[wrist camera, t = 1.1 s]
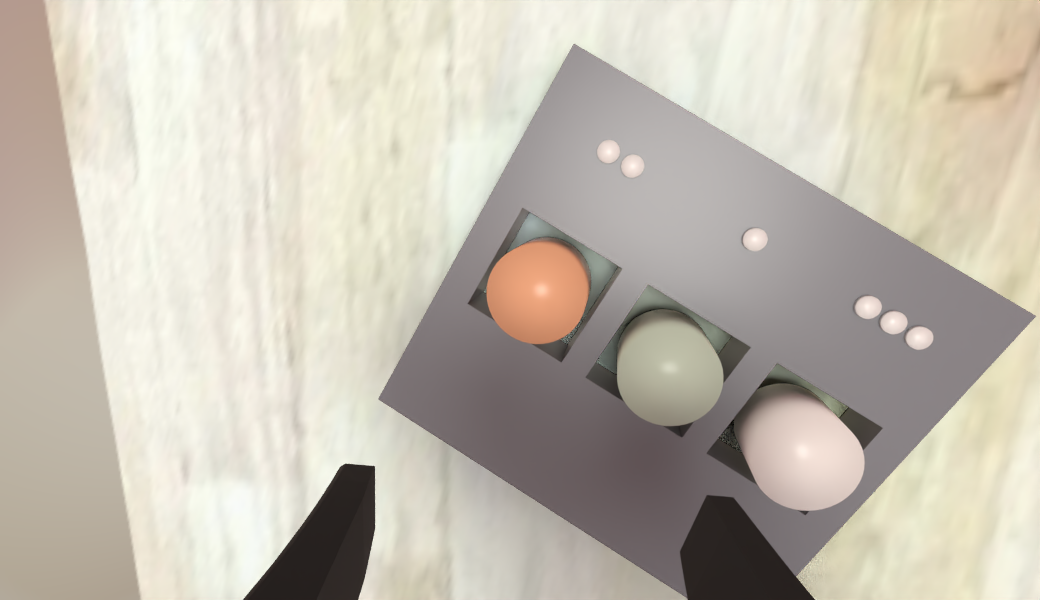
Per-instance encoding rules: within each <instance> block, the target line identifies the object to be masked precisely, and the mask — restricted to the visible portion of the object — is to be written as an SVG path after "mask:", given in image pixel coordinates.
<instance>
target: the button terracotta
mask: <svg viewBox="0 0 1040 600" xmlns="http://www.w3.org/2000/svg"><path fill="white" fill-rule="evenodd" d="M590 289H591V274H590V270H589V266H588V264H587V262H586V260H585V258H584V257H583V255H582V254H581V253H580V252H579V251H578V250H577V249H576V248H575V247H574V246H572V245H571V244H569V243H568V242H566V241H563V240H561V239H557V238H551V237H542V238H536V239H533V240H530V241H528V242H526V243H524V244H522V245H521V246H519V247H517V248H515V249H513V250H512V251H510V252H508V253H507V254H505V255H504V256H503V257H502V258H501V259H500V260H499V261H498V262H497V263H496V265H495V266H494V268H493V270H492V272H491V274H490V276H489V279H488V283H487V293H486V294H487V302H488V307H489V310H490V312H491V315H492V317H493V318H494V320H495V322H496V323H497V324H498V325H499V327H500V328H501V329H502V330H503V331H504V332H506V333H507V334H508V335H510V336H511V337H513V338H515V339H517V340H519V341H522V342H526V343H531V344H545V343H550V342H554V341H557V340H559V339H561V338H563V337H564V336H566V335H567V334H569V333H570V332H571V331H572V330H573V329H574V328H575V327H576V325H577V324H578V323H579V321H580V319H581V318H582V316H583V313H584V310H585V307H586V304H587V300H588V297H589V294H590Z"/></svg>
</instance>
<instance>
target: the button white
mask: <svg viewBox="0 0 1040 600" xmlns="http://www.w3.org/2000/svg"><path fill="white" fill-rule="evenodd" d="M734 433H735V437H736V440H737V442H738V444H739V446H740V448H741V451H742V453H743V455H744V457H745V459H746V461H747V464H748V466H749V468H750V470H751V472H752V474H753V476H754V479H755V481H756V483H757V484H758V486H759V488H760V489H761V490H762V491H763V493H764V494H766V495H767V496H768V497H769V498H770V499H772V500H773V501H774V502H776V503H778V504H780V505H782V506H785V507H787V508H791V509H795V510H802V511H813V510H821V509H825V508H828V507H831V506H833V505H836V504H838V503H839V502H841V501H843V500H844V499H846V498H847V497H848V496H849V495H850V494H851V493H852V492H853V491H854V490H855V489H856V487H857V486H858V484H859V482H860V481H861V478H862V476H863V472H864V465H865V460H864V453H863V449H862V447H861V445H860V443H859V441H858V439H857V438H856V436H855V435H854V434H853V433H852V432H851V431H850V430H849V429H848V428H847V426H846V425H845V424H844V423H843V422H842V421H841V420H840V419H839V418H838V417H837V416H836V415H835V414H834V413H833V412H832V411H831V410H830V409H829V408H828V407H827V406H826V404H825V403H824V402H823V401H822V400H821V399H820V398H819V397H818V396H817V395H815V394H814V393H813V392H811V391H809V390H808V389H806V388H803V387H801V386H797V385H793V384H772V385H768V386H765V387H762V388H760V389H758V390H756V391H755V392H754V393H753V395H752V396H751V397H750V398H749V400H748V401H747V402H746V403H745V405H744V406H743V407H742V409H741V410H740V411H739V412H738V414H737V415H736V416H735V419H734Z"/></svg>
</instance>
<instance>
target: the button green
mask: <svg viewBox="0 0 1040 600" xmlns="http://www.w3.org/2000/svg"><path fill="white" fill-rule="evenodd" d="M617 383H618V388H619V391H620V394H621V396H622V398H623V400H624V402H625V403H626V405H627V406H628V407H629V408H630V409H631V410H632V411H633V412H634V413H635V414H636V415H638V416H639V417H640V418H642V419H644V420H646V421H648V422H651V423H653V424H657V425H662V426H680V425H684V424H688V423H691V422H693V421H695V420H698V419H699V418H701V417H702V416H704V415H705V414H706V413H707V412H709V411H710V410H711V408H712V407H713V406H714V405H715V403H716V402H717V400H718V398H719V396H720V394H721V391H722V387H723V368H722V365H721V362H720V359H719V357H718V355H717V354H716V352H715V350H714V348H713V347H712V345H711V343H710V342H709V340H708V338H707V336H706V335H705V333H704V331H703V330H702V328H701V327H700V326H699V325H698V324H697V323H696V322H695V321H694V320H693V319H692V318H690V317H689V316H687V315H685V314H683V313H680V312H678V311H673V310H666V309H661V310H653V311H649V312H646V313H644V314H642V315H640V316H638V317H636V318H635V319H634V320H632V321H631V322H630V323H629V324H628V325H627V327H626V328H625V329H624V331H623V333H622V335H621V337H620V339H619V343H618V350H617Z"/></svg>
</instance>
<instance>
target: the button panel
mask: <svg viewBox="0 0 1040 600" xmlns="http://www.w3.org/2000/svg"><path fill="white" fill-rule="evenodd" d="M529 212H531V213H532V214H534V215H535V216H537V217H539V218H540V219H542V220H544V221H545V222H547V223H549V224H550V225H552V226H553V227H555V228H557V229H558V230H560V231H562V232H563V233H565V234H567V235H568V236H570V237H571V238H573V239H575V240H576V241H578V242H580V243H581V244H583V245H585V246H586V247H588V248H589V249H591V250H593V251H594V252H596V253H598V254H599V255H601V256H603V257H604V258H606V259H607V260H609V261H611V262H612V263H614V264H616V265H617V266H618V268H617V269H616V271H615V273H614V274H613V276H612V277H611V279H610V280H609V282H608V283H607V285H606V286H605V288H604V290H603V291H602V293H601V294H600V296H599V297H598V299H597V300H596V302H595V303H594V305H593V306H592V308H591V310H590V311H589V313H588V314H587V316H586V317H585V319H584V320H583V322H582V323H581V325H580V326H579V328H578V330H577V331H576V333H575V334H574V336H573V337H572V339H571V340H570V342H569V343H568V345H567V344H565V343H564V342H562V341H561V340H557V341H554V342H550V343H545V344H531V343H526V342H522V341H519V340H517V339H515V338H513V337H511V336H510V335H508V334H507V333H506V332H504V331H503V330H502V329H501V328H500V327H499V325H498V324H497V323H496V322H495V320H494V318H493V317H492V315H491V312H490V310H489V307H488V302H487V294H485V293H484V290H485V288H486V286H487V283H488V279H489V276H490V274H491V272H492V270H493V268H494V266H495V265H496V263H497V262H498V261H499V260H500V259H501V258H502V257H503V256H504V255H505V253H506V252H507V250H508V248H509V247H510V245H511V243H512V241H513V240H514V238H515V236H516V234H517V233H518V231H519V229H520V227H521V226H522V224H523V222H524V221H525V219H526V217H527V215H528V214H529ZM647 285H650V286H652V287H653V288H655V289H656V290H658V291H660V292H661V293H663V294H665V295H666V296H668V297H670V298H671V299H673V300H674V301H676V302H678V303H679V304H681V305H683V306H684V307H686V308H688V309H689V310H691V311H692V312H694V313H696V314H697V315H699V316H701V317H702V318H704V319H706V320H707V321H709V322H710V323H712V324H714V325H715V326H717V327H719V328H720V329H722V330H724V331H725V332H727V333H728V334H730V335H732V337H731V338H730V340H729V341H728V342H727V344H726V345H725V346H724V348H723V349H722V350H721V352H720V353H719V355H718V357H719V359H720V362H721V365H722V368H723V387H722V391H721V394H720V396H719V398H718V400H717V402H716V403H715V405H714V406H713V407H712V408H711V410H710V411H709V412H707V413H706V414H705V415H704V416H702V417H701V418H699V419H698V420H695V421H693V422H691V423H688V424H684V425H680V426H662V425H657V424H653V423H651V422H648V421H646V420H644V419H642V418H640V417H639V416H638V415H636V414H635V413H634V412H633V411H632V410H631V409H630V408H629V407H628V406H627V405H626V403H625V402H624V400H623V398H622V396H621V394H620V391H619V388H618V383H617V375H615V374H614V373H612V372H610V371H609V370H607V369H605V368H604V367H602V366H601V365H599V364H597V363H596V361H597V359H598V358H599V356H600V355H601V353H602V352H603V351H604V349H605V348H606V346H607V345H608V343H609V342H610V340H611V339H612V337H613V336H614V334H615V333H616V331H617V330H618V328H619V327H620V325H621V324H622V322H623V321H624V319H625V318H626V316H627V315H628V313H629V312H630V310H631V309H632V307H633V306H634V304H635V303H636V302H637V300H638V299H639V297H640V296H641V294H642V293H643V291H644V290H645V288H646V287H647ZM1035 317H1036V316H1035V315H1033V314H1032V313H1030V312H1028V311H1027V310H1025V309H1023V308H1021V307H1020V306H1018V305H1016V304H1015V303H1013V302H1011V301H1010V300H1008V299H1006V298H1004V297H1003V296H1001V295H999V294H998V293H996V292H994V291H993V290H991V289H989V288H988V287H986V286H984V285H982V284H981V283H979V282H977V281H976V280H974V279H972V278H971V277H969V276H967V275H965V274H964V273H962V272H960V271H959V270H957V269H955V268H954V267H952V266H950V265H949V264H947V263H945V262H943V261H942V260H940V259H938V258H937V257H935V256H933V255H932V254H930V253H928V252H926V251H925V250H923V249H921V248H920V247H918V246H916V245H915V244H913V243H911V242H909V241H908V240H906V239H904V238H903V237H901V236H899V235H898V234H896V233H894V232H893V231H891V230H889V229H887V228H886V227H884V226H882V225H881V224H879V223H877V222H876V221H874V220H872V219H870V218H869V217H867V216H865V215H864V214H862V213H860V212H859V211H857V210H855V209H854V208H852V207H850V206H848V205H847V204H845V203H843V202H842V201H840V200H838V199H837V198H835V197H833V196H831V195H830V194H828V193H826V192H825V191H823V190H821V189H820V188H818V187H816V186H814V185H813V184H811V183H809V182H808V181H806V180H804V179H803V178H801V177H799V176H798V175H796V174H794V173H792V172H791V171H789V170H787V169H786V168H784V167H782V166H781V165H779V164H777V163H775V162H774V161H772V160H770V159H769V158H767V157H765V156H764V155H762V154H760V153H759V152H757V151H755V150H753V149H752V148H750V147H748V146H747V145H745V144H743V143H742V142H740V141H738V140H736V139H735V138H733V137H731V136H730V135H728V134H726V133H725V132H723V131H721V130H719V129H718V128H716V127H714V126H713V125H711V124H709V123H708V122H706V121H704V120H703V119H701V118H699V117H697V116H696V115H694V114H692V113H691V112H689V111H687V110H686V109H684V108H682V107H680V106H679V105H677V104H675V103H674V102H672V101H670V100H669V99H667V98H665V97H664V96H662V95H660V94H658V93H657V92H655V91H653V90H652V89H650V88H648V87H647V86H645V85H643V84H641V83H640V82H638V81H636V80H635V79H633V78H631V77H630V76H628V75H626V74H625V73H623V72H621V71H619V70H618V69H616V68H614V67H613V66H611V65H609V64H608V63H606V62H604V61H602V60H601V59H599V58H597V57H596V56H594V55H592V54H591V53H589V52H587V51H585V50H584V49H582V48H580V47H579V46H577V45H575V44H573V46H572V48H571V50H570V52H569V53H568V55H567V57H566V59H565V61H564V62H563V64H562V66H561V68H560V70H559V72H558V73H557V75H556V77H555V79H554V81H553V82H552V84H551V86H550V88H549V90H548V92H547V93H546V95H545V97H544V99H543V101H542V102H541V104H540V106H539V108H538V110H537V112H536V113H535V115H534V117H533V119H532V121H531V122H530V124H529V126H528V128H527V130H526V132H525V133H524V135H523V137H522V139H521V141H520V142H519V144H518V146H517V148H516V150H515V152H514V153H513V155H512V157H511V159H510V161H509V162H508V164H507V166H506V168H505V170H504V172H503V173H502V175H501V177H500V179H499V181H498V182H497V184H496V186H495V188H494V190H493V192H492V193H491V195H490V197H489V199H488V201H487V202H486V204H485V206H484V208H483V210H482V211H481V213H480V215H479V217H478V219H477V221H476V222H475V224H474V226H473V228H472V230H471V231H470V233H469V235H468V237H467V239H466V241H465V242H464V244H463V246H462V248H461V250H460V251H459V253H458V255H457V257H456V259H455V261H454V262H453V264H452V266H451V268H450V270H449V271H448V273H447V275H446V277H445V279H444V281H443V282H442V284H441V286H440V288H439V290H438V291H437V293H436V295H435V297H434V299H433V301H432V302H431V304H430V306H429V308H428V310H427V311H426V313H425V315H424V317H423V319H422V321H421V322H420V324H419V326H418V328H417V330H416V331H415V333H414V335H413V337H412V339H411V341H410V342H409V344H408V346H407V348H406V350H405V351H404V353H403V355H402V357H401V359H400V361H399V362H398V364H397V366H396V368H395V370H394V371H393V373H392V375H391V377H390V379H389V381H388V382H387V384H386V386H385V388H384V390H383V391H382V393H381V395H380V397H379V400H380V401H382V402H383V403H385V404H387V405H388V406H390V407H391V408H393V409H394V410H396V411H397V412H399V413H401V414H402V415H404V416H405V417H407V418H408V419H410V420H411V421H413V422H414V423H416V424H418V425H419V426H421V427H422V428H424V429H425V430H427V431H428V432H430V433H432V434H433V435H435V436H436V437H438V438H439V439H441V440H442V441H444V442H446V443H447V444H449V445H450V446H452V447H453V448H455V449H456V450H458V451H460V452H461V453H463V454H464V455H466V456H467V457H469V458H470V459H472V460H474V461H475V462H477V463H478V464H480V465H481V466H483V467H484V468H486V469H488V470H489V471H491V472H492V473H494V474H495V475H497V476H498V477H500V478H502V479H503V480H505V481H506V482H508V483H509V484H511V485H512V486H514V487H516V488H517V489H519V490H520V491H522V492H523V493H525V494H526V495H528V496H529V497H531V498H533V499H534V500H536V501H537V502H539V503H540V504H542V505H543V506H545V507H547V508H548V509H550V510H551V511H553V512H554V513H556V514H557V515H559V516H561V517H562V518H564V519H565V520H567V521H568V522H570V523H571V524H573V525H575V526H576V527H578V528H579V529H581V530H582V531H584V532H585V533H587V534H589V535H590V536H592V537H593V538H595V539H596V540H598V541H599V542H601V543H603V544H604V545H606V546H607V547H609V548H610V549H612V550H613V551H615V552H617V553H618V554H620V555H621V556H623V557H624V558H626V559H627V560H629V561H631V562H632V563H634V564H635V565H637V566H638V567H640V568H641V569H643V570H644V571H646V572H648V573H649V574H651V575H652V576H654V577H655V578H657V579H658V580H660V581H662V582H663V583H665V584H666V585H668V586H669V587H671V588H672V589H674V590H676V591H677V592H679V593H680V594H682V595H683V596H685V597H686V598H687V592H686V587H685V582H684V576H683V570H682V564H681V557H680V550H681V548H682V546H683V544H684V541H685V539H686V537H687V535H688V533H689V531H690V529H691V527H692V525H693V523H694V521H695V518H696V516H697V514H698V512H699V510H700V508H701V506H702V504H703V502H704V500H705V498H706V495H714V496H725V497H734V498H735V500H736V501H737V502H738V504H739V505H740V506H741V507H742V509H743V510H744V511H745V512H746V514H747V515H748V516H749V518H750V519H751V520H752V521H753V523H754V524H755V525H756V527H757V528H758V529H759V531H760V532H761V533H762V534H763V536H764V537H765V538H766V540H767V541H768V542H769V543H770V545H771V546H772V547H773V548H774V550H775V551H776V552H777V554H778V555H779V556H780V557H781V559H782V560H783V561H784V562H785V564H786V565H787V566H788V567H789V569H790V570H791V571H792V572H793V574H794V575H795V576H797V575H798V574H799V573H800V572H801V570H802V569H803V568H804V567H805V566H806V565H807V564H808V563H809V562H810V561H811V560H812V558H813V557H814V556H815V555H816V554H817V553H818V552H819V551H820V550H821V549H822V548H823V547H824V545H825V544H826V543H827V542H828V541H829V540H830V539H831V538H832V537H833V536H834V535H835V534H836V532H837V531H838V530H839V529H840V528H841V527H842V526H843V525H844V524H845V523H846V522H847V521H848V519H849V518H850V517H851V516H852V515H853V514H854V513H855V512H856V511H857V510H858V509H859V508H860V506H861V505H862V504H863V503H864V502H865V501H866V500H867V499H868V498H869V497H870V496H871V495H872V493H873V492H874V491H875V490H876V489H877V488H878V487H879V486H880V485H881V484H882V483H883V482H884V480H885V479H886V478H887V477H888V476H889V475H890V474H891V473H892V472H893V471H894V470H895V469H896V467H897V466H898V465H899V464H900V463H901V462H902V461H903V460H904V459H905V458H906V457H907V456H908V454H909V453H910V452H911V451H912V450H913V449H914V448H915V447H916V446H917V445H918V444H919V443H920V441H921V440H922V439H923V438H924V437H925V436H926V435H927V434H928V433H929V432H930V431H931V430H932V428H933V427H934V426H935V425H936V424H937V423H938V422H939V421H940V420H941V419H942V418H943V416H944V415H945V414H946V413H947V412H948V411H949V410H950V409H951V408H952V407H953V406H954V405H955V403H956V402H957V401H958V400H959V399H960V398H961V397H962V396H963V395H964V394H965V393H966V392H967V390H968V389H969V388H970V387H971V386H972V385H973V384H974V383H975V382H976V381H977V380H978V379H979V377H980V376H981V375H982V374H983V373H984V372H985V371H986V370H987V369H988V368H989V367H990V366H991V364H992V363H993V362H994V361H995V360H996V359H997V358H998V357H999V356H1000V355H1001V354H1002V353H1003V351H1004V350H1005V349H1006V348H1007V347H1008V346H1009V345H1010V344H1011V343H1012V342H1013V341H1014V340H1015V338H1016V337H1017V336H1018V335H1019V334H1020V333H1021V332H1022V331H1023V330H1024V329H1025V328H1026V327H1027V325H1028V324H1029V323H1030V322H1031V321H1032V320H1033V319H1034V318H1035ZM777 363H778V364H779V365H781V366H782V367H784V368H786V369H787V370H789V371H791V372H792V373H794V374H796V375H797V376H799V377H800V378H802V379H804V380H805V381H807V382H809V383H810V384H812V385H814V386H815V387H817V388H818V389H820V390H822V391H823V392H825V393H827V394H828V395H830V396H831V397H833V398H835V399H836V400H838V401H840V402H841V403H843V404H845V405H846V406H848V407H849V408H848V409H847V410H846V412H845V413H844V414H843V415H842V416H841V417H840V420H841V421H842V422H843V423H844V424H845V425H846V426H847V428H848V429H849V430H850V431H851V432H852V433H853V434H854V435H855V436H856V438H857V439H858V441H859V443H860V445H861V447H862V449H863V453H864V460H865V465H864V472H863V476H862V478H861V481H860V482H859V484H858V486H857V487H856V489H855V490H854V491H853V492H852V493H851V494H850V495H849V496H848V497H847V498H846V499H844V500H843V501H841V502H839V503H838V504H836V505H833V506H831V507H828V508H825V509H821V510H813V511H802V510H795V509H791V508H787V507H785V506H782V505H780V504H778V503H776V502H774V501H773V500H772V499H770V498H769V497H768V496H767V495H766V494H764V493H763V491H762V490H761V489H760V488H759V486H758V484H757V483H756V481H755V479H754V476H753V474H752V472H751V470H750V468H749V466H748V464H747V461H746V459H745V457H744V455H743V454H742V453H740V452H739V451H737V450H735V449H734V448H732V447H731V446H729V445H727V444H726V443H724V442H723V441H721V440H719V439H718V438H719V436H720V435H721V434H722V433H723V431H724V430H725V429H726V428H727V426H728V425H729V424H730V423H731V421H732V420H733V419H734V417H735V416H736V415H737V414H738V412H739V411H740V410H741V409H742V407H743V406H744V405H745V403H746V402H747V401H748V400H749V398H750V397H751V396H752V395H753V393H754V392H755V391H756V389H757V388H758V387H759V386H760V384H761V383H762V382H763V381H764V379H765V378H766V377H767V376H768V374H769V373H770V372H771V370H772V369H773V368H774V367H775V365H776V364H777Z"/></svg>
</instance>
